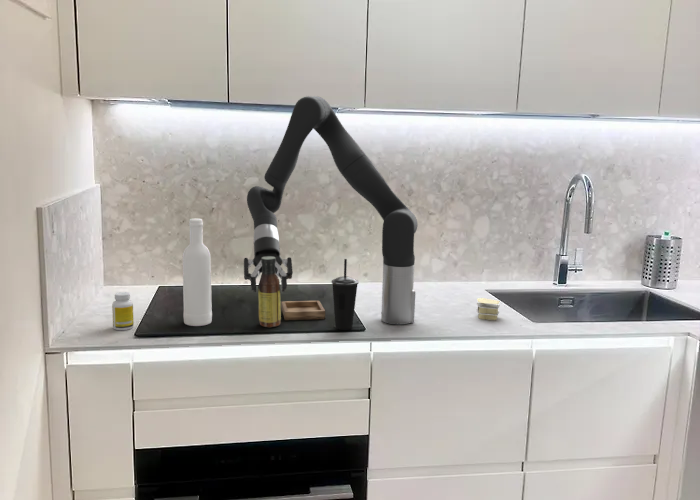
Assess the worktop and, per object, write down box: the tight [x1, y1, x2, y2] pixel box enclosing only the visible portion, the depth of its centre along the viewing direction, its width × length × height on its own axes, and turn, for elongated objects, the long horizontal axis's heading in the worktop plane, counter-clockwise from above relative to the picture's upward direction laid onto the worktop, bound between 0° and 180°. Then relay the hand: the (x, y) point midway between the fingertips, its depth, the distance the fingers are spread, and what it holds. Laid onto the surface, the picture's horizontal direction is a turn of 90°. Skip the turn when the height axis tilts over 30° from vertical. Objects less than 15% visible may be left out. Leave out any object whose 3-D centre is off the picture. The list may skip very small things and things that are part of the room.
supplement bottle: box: [111, 291, 135, 331], centre depth 173 cm, size 5×5×10 cm
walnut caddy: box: [280, 300, 326, 321], centre depth 191 cm, size 12×12×2 cm
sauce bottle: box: [257, 256, 282, 328], centre depth 178 cm, size 7×6×20 cm
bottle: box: [182, 217, 213, 327], centre depth 178 cm, size 8×8×30 cm
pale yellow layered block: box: [476, 297, 500, 321], centre depth 193 cm, size 10×9×6 cm
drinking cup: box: [330, 258, 359, 331], centre depth 177 cm, size 8×8×20 cm
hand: (269, 290), depth 176 cm, fingers open, 7 cm apart
